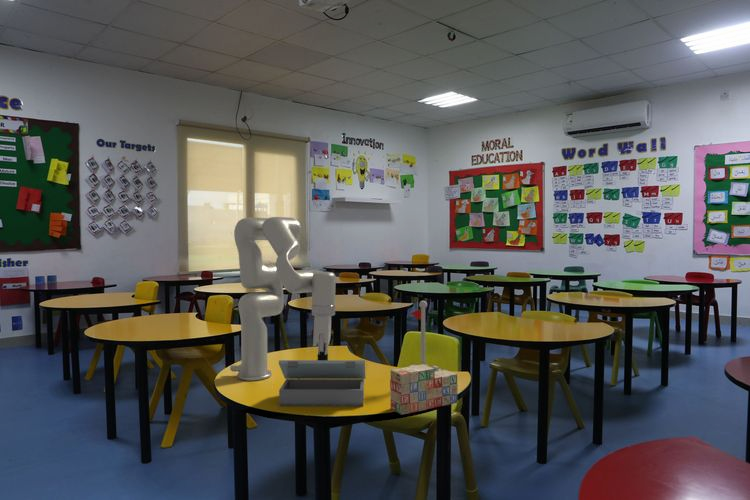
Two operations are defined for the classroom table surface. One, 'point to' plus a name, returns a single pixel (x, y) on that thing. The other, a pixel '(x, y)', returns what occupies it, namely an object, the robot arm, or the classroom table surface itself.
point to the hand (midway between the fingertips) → (322, 366)
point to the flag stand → (423, 331)
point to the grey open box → (322, 392)
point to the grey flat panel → (323, 369)
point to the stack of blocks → (421, 388)
